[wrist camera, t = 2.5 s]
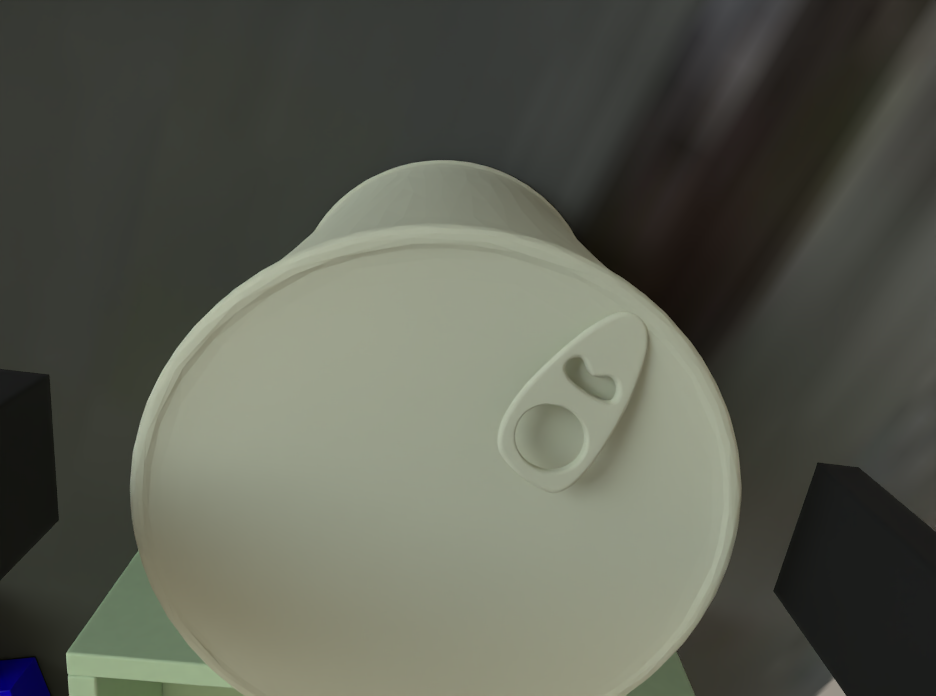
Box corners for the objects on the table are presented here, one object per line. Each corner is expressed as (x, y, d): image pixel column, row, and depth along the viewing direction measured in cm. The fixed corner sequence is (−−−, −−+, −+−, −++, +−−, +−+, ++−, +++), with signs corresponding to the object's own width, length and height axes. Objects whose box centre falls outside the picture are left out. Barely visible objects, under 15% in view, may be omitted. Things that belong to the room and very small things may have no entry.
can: (652, 289, 21) (898, 504, 9) (466, 492, 23) (483, 861, 12) (417, 90, 19) (369, 55, 7) (237, 334, 21) (-14, 600, 10)
